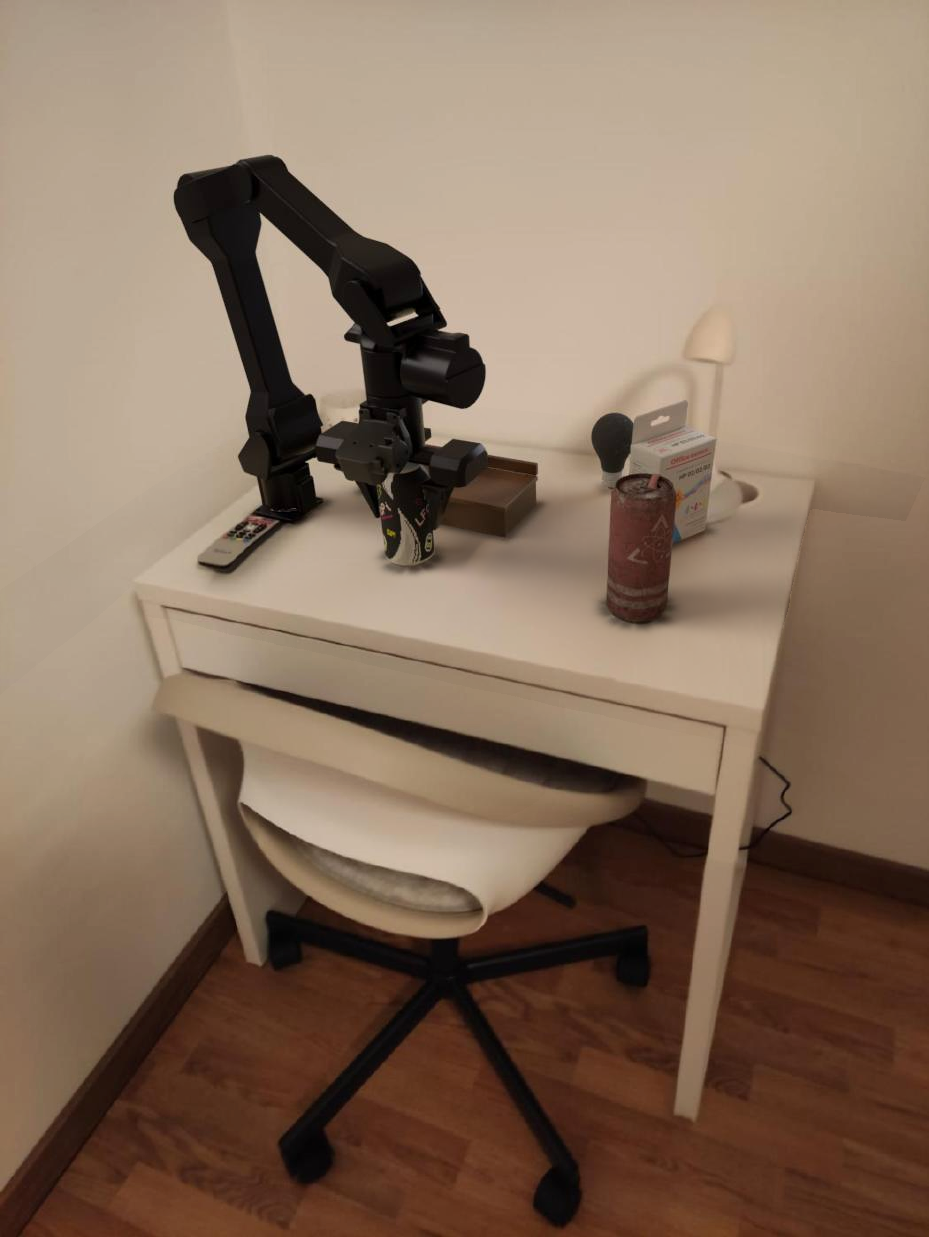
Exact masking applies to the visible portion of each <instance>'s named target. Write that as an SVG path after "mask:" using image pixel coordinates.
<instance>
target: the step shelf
mask: <svg viewBox="0 0 929 1237" xmlns="http://www.w3.org/2000/svg"><path fill="white" fill-rule="evenodd" d="M425 444H426V447H432V448H438V449H440V448H441V447H442V446H439V445H434V444H427V443H425ZM423 466H424V467H425V468H426V470H427V472H428V478H429V477H430V476H429V466H426V465H423ZM538 474H539V464H538V462H535V461H530V460H529V461H528V460H522V459H516V458H510V457H505V456H498V455H492V454H488V467H487V468H486V469H485V470H484V471H483V472H482V473H481V474H479V475H478V476H477V477H476V478H475V479H474V480H473V481H471V482H470V483H469V484H468V485H467V486H466V487H461V488H456V487H454V489H453V491H452V493H451V496H450V499H449V501H448V504H447V507H446V509H445V512H444V515H443V518H442V520H441V523H440V525H445V526H451V527H455V528H460V529H464V530H469V531H474V532H479V533H483V534H488V535H492V536H498V537H502V538H506V537H507V536H508V535H509V534H510V533H511V531H513V530H514V529H515V528H516V527H517V525H519V523H520V522H521V521H522V520H523V519H524V518H525V517H526V516H527V515H528V514H529V513H530V512H531V511H532V510H533V509H534V508H535V507H536V506H537V482H538V480H539V476H538Z"/></svg>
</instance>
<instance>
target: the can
mask: <svg viewBox="0 0 929 1237" xmlns="http://www.w3.org/2000/svg"><path fill="white" fill-rule="evenodd" d="M676 500H677V495H676V491H675V489H674V486H673V483H672V482H671V481H670V480H669V479H667V478H665V477H663V476H660V474H648V473H637V474H630V475H629V474H627V475H624V476H622V478H620V479H619V480H617V482H616V483H615V487H614V488H613V489H611V491H610V508H609V510H610V512H609V531H608V532H609V533H608V554H607V575H606V576H607V577H606V596H605V598H606V599H605V600H606V601H605V604H606V607H607V609H608V610H609V612H610V613H611V614H612V616H614V617H615V618H617V619H618V620H621V621H623V622H627V623H631V624H644V623H648V622H649V623H650V622H652V621H654V620H657V619H658V618H659V617H661V616H662V614H664V613H665V611H666V608H667V606H668V596H669V588H670V587H669V586H670V577H671V576H670V574H671V566H672V565H671V564H672V553H673V544H674V543H673V533H674V522H675V511H676Z"/></svg>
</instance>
